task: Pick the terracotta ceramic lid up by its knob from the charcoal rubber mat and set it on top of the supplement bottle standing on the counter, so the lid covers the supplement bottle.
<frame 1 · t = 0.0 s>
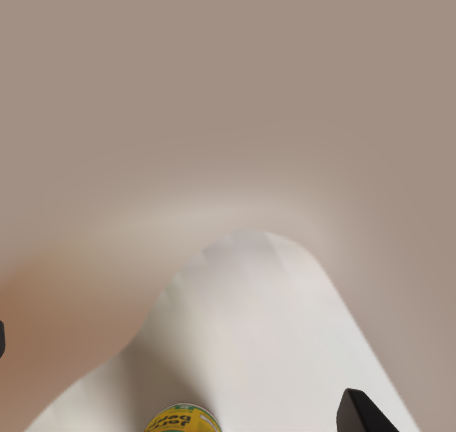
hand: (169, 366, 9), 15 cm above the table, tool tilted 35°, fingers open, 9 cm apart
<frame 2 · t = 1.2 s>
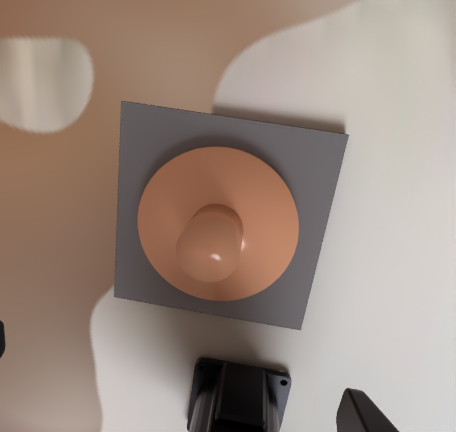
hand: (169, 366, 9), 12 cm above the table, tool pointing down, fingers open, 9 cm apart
lid: (218, 225, 19), point 1 cm above the table, touching mat
mat: (219, 221, 20), on the table
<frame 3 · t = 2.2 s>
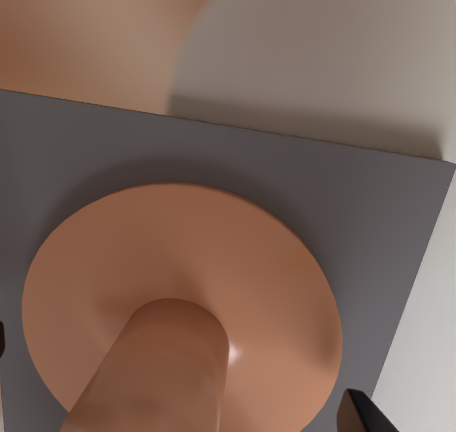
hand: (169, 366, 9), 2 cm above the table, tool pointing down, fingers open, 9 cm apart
lid: (182, 328, 10), point 1 cm above the table, touching mat
mat: (186, 316, 11), on the table
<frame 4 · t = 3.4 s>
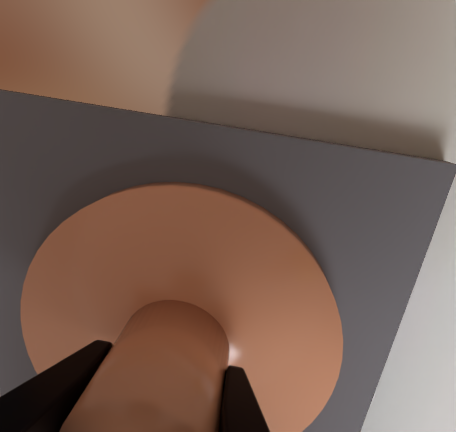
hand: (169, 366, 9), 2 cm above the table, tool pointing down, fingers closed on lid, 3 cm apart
lid: (182, 329, 10), point 1 cm above the table, touching gripper, mat
mat: (186, 317, 11), on the table
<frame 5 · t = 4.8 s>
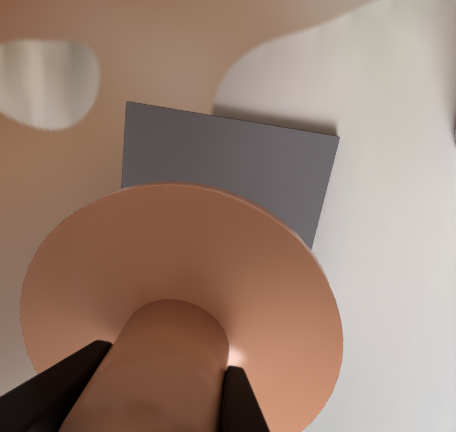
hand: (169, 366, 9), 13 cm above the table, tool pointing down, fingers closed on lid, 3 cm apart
lid: (182, 328, 10), point 11 cm above the table, touching gripper
mat: (217, 217, 21), on the table
when the fingers open (13 cm above the table, at t = 6.5 s): lid drops 2 cm, resting on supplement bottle.
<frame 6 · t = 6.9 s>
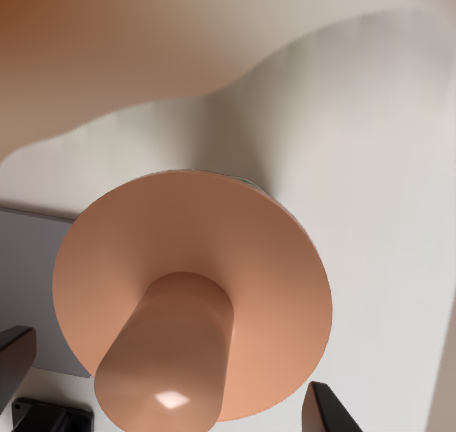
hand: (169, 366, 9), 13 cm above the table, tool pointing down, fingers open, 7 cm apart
lid: (192, 300, 12), point 10 cm above the table, touching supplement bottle
mat: (12, 288, 24), on the table
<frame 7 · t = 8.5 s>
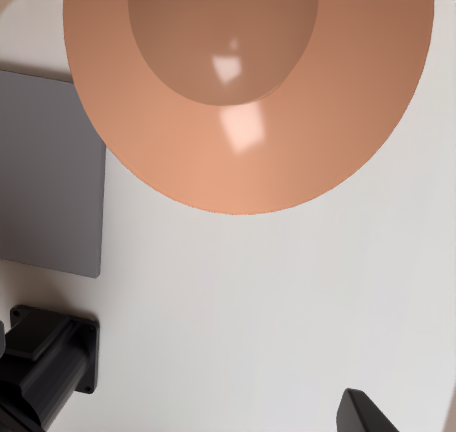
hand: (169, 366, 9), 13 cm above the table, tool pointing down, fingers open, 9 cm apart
lid: (240, 46, 9), point 10 cm above the table, touching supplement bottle
mat: (12, 172, 21), on the table
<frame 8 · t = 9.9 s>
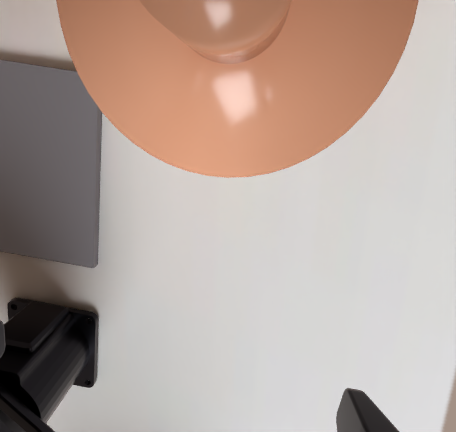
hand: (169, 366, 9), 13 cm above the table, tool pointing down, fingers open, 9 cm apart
lid: (232, 7, 9), point 10 cm above the table, touching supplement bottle
mat: (8, 162, 21), on the table
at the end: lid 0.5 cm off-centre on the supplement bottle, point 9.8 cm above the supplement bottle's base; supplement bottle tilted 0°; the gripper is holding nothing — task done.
